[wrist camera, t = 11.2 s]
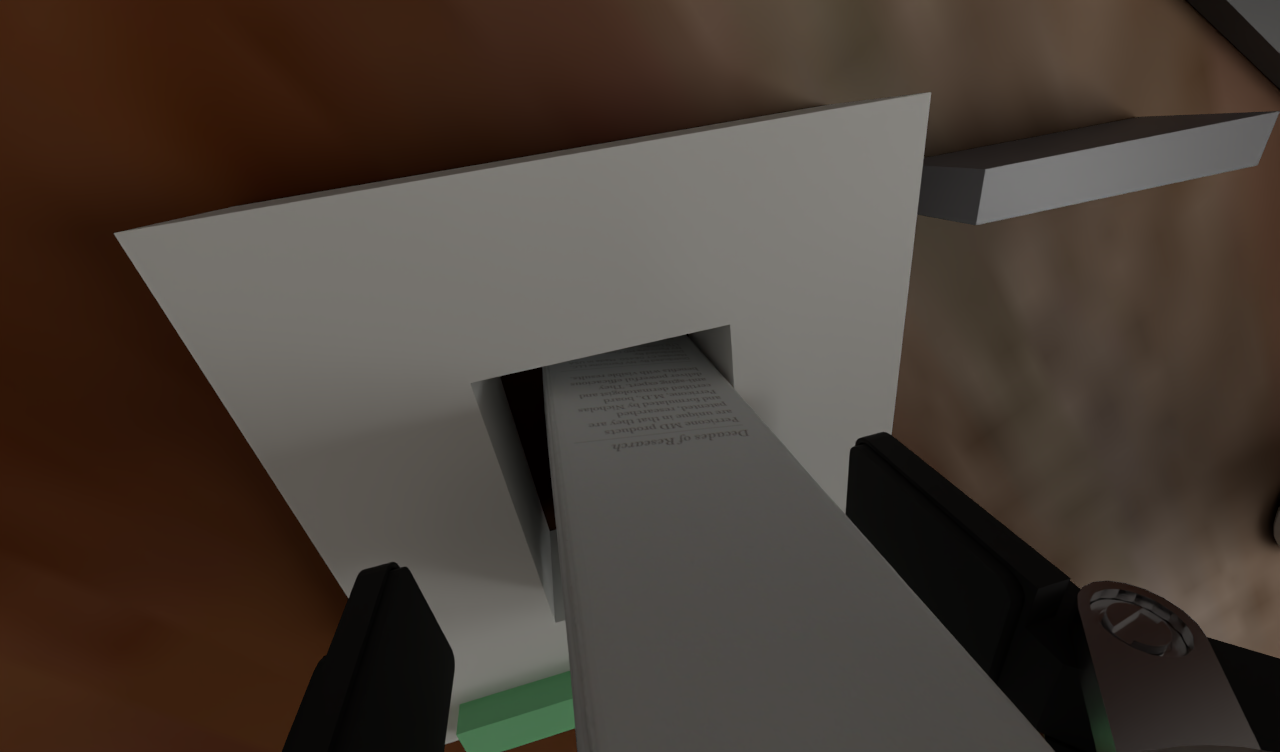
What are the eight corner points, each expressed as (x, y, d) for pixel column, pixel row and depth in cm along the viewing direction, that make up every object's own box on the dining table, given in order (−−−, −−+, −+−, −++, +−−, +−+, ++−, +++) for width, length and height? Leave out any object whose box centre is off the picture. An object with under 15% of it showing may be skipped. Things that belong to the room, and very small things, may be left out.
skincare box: (678, 488, 17) (948, 1092, 6) (553, 505, 16) (611, 1239, 5) (688, 320, 14) (1194, 876, 3) (537, 330, 13) (591, 1106, 3)
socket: (827, 104, 12) (965, 88, 8) (815, 534, 19) (887, 632, 15) (234, 206, 10) (70, 242, 7) (457, 638, 17) (438, 776, 14)
